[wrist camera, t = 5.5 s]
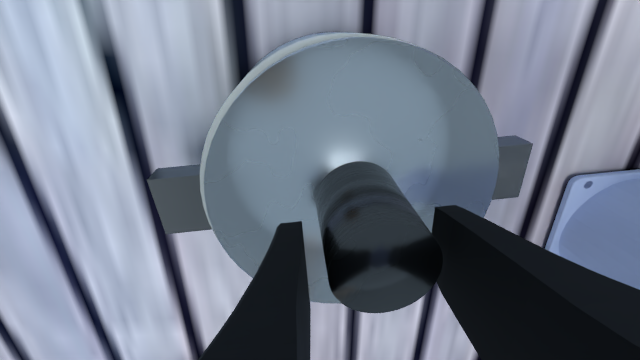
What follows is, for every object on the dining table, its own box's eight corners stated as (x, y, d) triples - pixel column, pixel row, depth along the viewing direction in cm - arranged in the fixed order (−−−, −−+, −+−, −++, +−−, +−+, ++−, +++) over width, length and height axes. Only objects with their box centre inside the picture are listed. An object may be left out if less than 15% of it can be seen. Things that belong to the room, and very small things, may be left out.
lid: (522, 49, 10) (688, 65, 6) (443, 283, 14) (505, 384, 10) (196, 22, 8) (116, 19, 4) (220, 287, 13) (191, 404, 9)
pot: (486, 21, 14) (580, 18, 9) (452, 220, 19) (504, 280, 14) (157, 43, 13) (91, 51, 9) (213, 247, 18) (189, 319, 14)
